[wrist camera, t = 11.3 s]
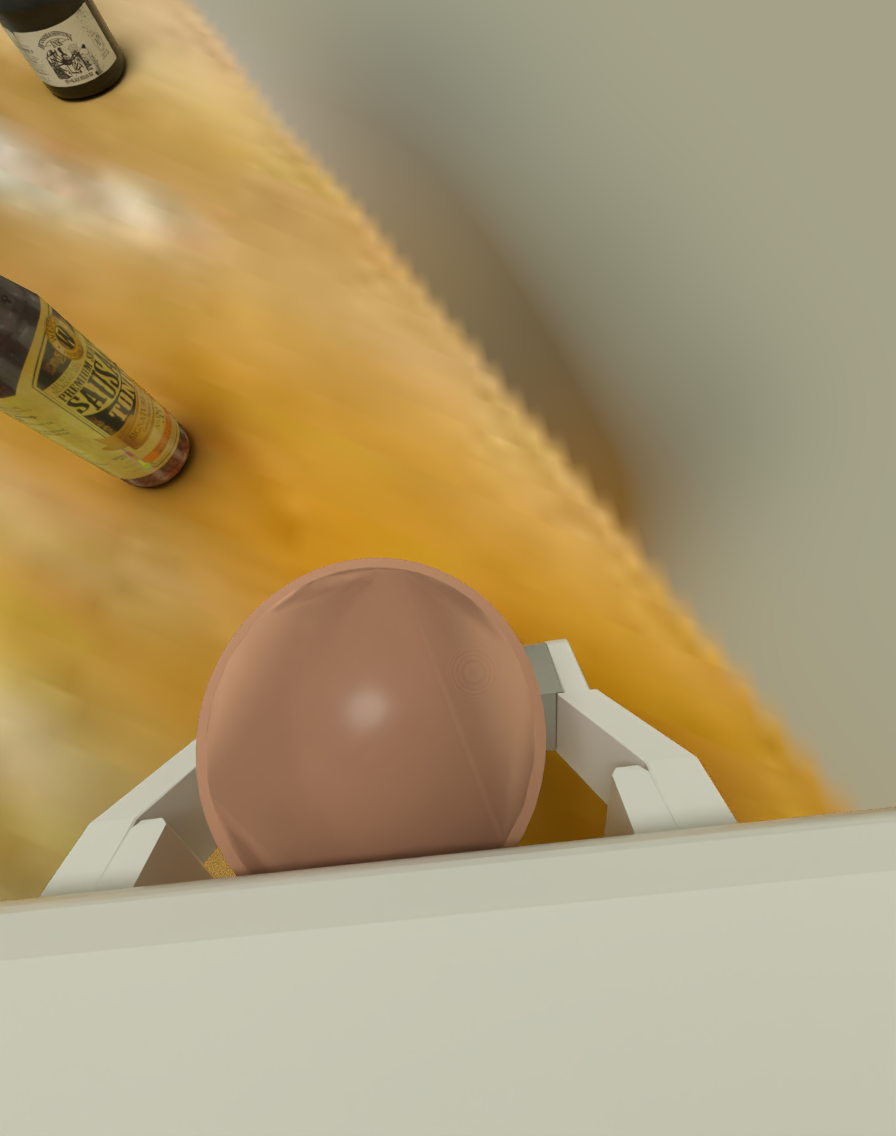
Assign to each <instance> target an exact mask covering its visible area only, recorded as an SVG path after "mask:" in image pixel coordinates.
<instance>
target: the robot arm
mask: <svg viewBox="0 0 896 1136" xmlns="http://www.w3.org/2000/svg"><path fill="white" fill-rule="evenodd" d="M522 646H523V648H524V650H525V652H526V654H527V656H528V658H529V660H530V662H531V665H532V668H533V671H534V673H535V676H536V679H537V682H538V685H539V689H540V694H541V698H542V702H543V707H544V716H545V726H546V751H551V750H556V752H557V753H558V754H559V755H560V756H561V757H562V758H563V759H564V760H565V761H566V762H567V764H568V765H569V766H570V767H571V768H572V769H573V770H574V771H575V772H576V773H577V774H578V775H579V776H580V777H581V778H582V779H583V780H584V781H585V782H586V783H587V785H588V786H589V787H590V788H591V789H592V790H593V791H594V792H595V793H596V794H597V795H598V796H599V797H600V798H601V799H602V800H603V801H604V802H605V803H606V804H607V806H608V809H607V816H606V823H605V830H604V838H594V839H585V840H576V841H566V842H557V843H547V844H538V845H528V846H519V847H509V848H500V849H490V850H481V851H472V852H462V853H453V854H443V855H434V856H424V857H415V858H405V859H396V860H387V861H377V862H368V863H359V864H349V865H340V866H331V867H321V868H312V869H303V870H293V871H284V872H275V873H265V874H256V875H246V876H237V877H227V878H218V879H216V878H215V876H214V875H213V874H212V873H211V872H210V871H209V870H208V869H207V867H206V866H205V865H204V863H205V861H206V860H207V859H208V858H209V856H210V855H211V854H212V853H213V852H214V850H215V849H216V848H217V847H218V846H217V845H216V843H215V840H214V838H213V836H212V833H211V831H210V828H209V826H208V824H207V821H206V818H205V814H204V811H203V807H202V803H201V800H200V796H199V789H198V782H197V775H196V739H195V740H194V741H192V742H191V743H190V744H189V745H187V746H186V747H185V748H184V749H182V750H181V751H180V752H179V753H177V754H176V755H175V756H174V757H172V758H171V759H170V760H169V761H167V762H166V763H165V764H164V765H162V766H161V767H160V768H159V769H157V770H156V771H155V772H154V773H152V774H151V775H150V776H149V777H147V778H146V779H145V780H144V781H142V782H141V783H140V784H139V785H137V786H136V787H135V788H134V789H132V790H131V791H130V792H129V793H127V794H126V795H125V796H124V797H122V798H121V799H120V800H119V801H117V802H116V803H115V804H114V805H112V806H111V807H110V808H109V809H107V810H106V811H105V812H104V813H102V814H101V815H100V816H99V817H97V818H96V819H95V820H94V821H92V822H91V823H90V824H89V825H88V827H87V828H86V830H85V831H84V833H83V834H82V836H81V837H80V838H79V840H78V841H77V843H76V844H75V846H74V847H73V849H72V850H71V851H70V853H69V854H68V856H67V857H66V859H65V860H64V862H63V863H62V865H61V866H60V867H59V869H58V870H57V872H56V873H55V875H54V876H53V878H52V879H51V881H50V882H49V883H48V885H47V886H46V888H45V889H44V891H43V892H42V894H41V895H40V897H38V898H28V899H18V900H9V901H0V1136H896V807H888V808H878V809H869V810H859V811H849V812H840V813H831V814H821V815H812V816H802V817H793V818H783V819H774V820H764V821H755V822H746V823H737V821H736V819H735V818H734V816H733V815H732V813H731V811H730V810H729V808H728V807H727V805H726V803H725V802H724V800H723V798H722V797H721V795H720V794H719V792H718V790H717V789H716V787H715V786H714V784H713V782H712V781H711V779H710V778H709V776H708V774H707V773H706V771H705V769H704V768H703V766H702V765H701V763H700V761H699V760H698V758H697V757H696V756H694V755H693V754H691V753H690V752H688V751H687V750H685V749H684V748H683V747H681V746H680V745H678V744H677V743H675V742H674V741H672V740H671V739H669V738H668V737H666V736H665V735H663V734H662V733H660V732H659V731H657V730H656V729H655V728H653V727H652V726H650V725H649V724H647V723H646V722H644V721H643V720H641V719H640V718H638V717H637V716H635V715H634V714H632V713H631V712H629V711H628V710H627V709H625V708H624V707H622V706H621V705H619V704H618V703H616V702H615V701H613V700H612V699H610V698H609V697H607V696H606V695H604V694H603V693H601V692H600V691H599V690H597V689H592V690H590V689H589V687H588V685H587V682H586V680H585V678H584V676H583V673H582V671H581V669H580V667H579V664H578V662H577V660H576V658H575V655H574V653H573V651H572V649H571V647H570V644H569V642H568V641H567V640H566V639H559V640H551V641H545V642H538V643H531V644H523V645H522Z"/></svg>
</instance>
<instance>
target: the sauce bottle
mask: <svg viewBox="0 0 896 1136" xmlns="http://www.w3.org/2000/svg"><path fill="white" fill-rule="evenodd" d="M0 411H2V412H4V413H5V414H7V415H9V416H11V417H12V418H14V419H16V420H18V421H19V422H21V423H23V424H24V425H26V426H28V427H30V428H31V429H33V430H35V431H36V432H38V433H40V434H42V435H43V436H45V437H47V438H48V439H50V440H52V441H54V442H55V443H57V444H59V445H60V446H62V447H64V448H66V449H67V450H69V451H71V452H72V453H74V454H76V455H77V456H79V457H81V458H82V459H84V460H86V461H88V462H89V463H91V464H93V465H95V466H96V467H98V468H100V469H101V470H103V471H105V472H107V473H109V474H110V475H112V476H115V477H118V478H120V479H122V480H123V481H125V482H127V483H129V484H132V485H136V486H140V487H150V486H157V485H159V484H163V483H166V482H168V481H169V480H171V478H174V476H175V475H176V474H177V473H178V472H179V471H180V470H181V468H182V467H183V466H184V464H185V462H186V461H187V458H188V455H189V450H190V444H189V440H188V437H187V435H186V433H185V431H184V430H183V428H182V426H181V425H180V424H179V422H177V421H176V419H175V418H174V416H173V415H172V414H171V413H169V412H168V411H167V410H166V409H165V408H164V407H163V406H162V405H161V404H159V403H158V402H157V401H156V400H155V399H154V398H153V397H152V396H151V395H149V394H148V393H147V392H146V391H145V390H144V389H143V388H142V387H140V386H139V385H138V384H137V383H136V382H135V381H134V380H133V379H131V378H130V377H129V376H128V375H127V374H126V373H125V372H123V371H122V370H121V369H120V368H119V367H118V366H117V365H116V364H115V363H114V362H112V361H111V360H110V359H109V358H108V357H107V356H106V355H105V354H104V353H102V352H101V351H100V350H99V349H98V348H97V347H96V346H95V345H94V344H93V343H91V342H90V341H89V340H88V339H87V338H86V337H85V336H83V335H82V334H81V333H80V332H79V331H78V330H76V329H75V328H74V327H73V326H72V325H71V324H70V323H69V322H67V321H66V320H65V319H64V318H63V317H62V316H61V315H60V314H59V313H57V312H56V311H55V310H54V309H53V308H52V307H51V306H50V305H49V304H47V303H46V302H45V301H44V300H43V299H42V298H41V297H40V296H38V295H37V294H35V293H33V292H31V291H30V290H28V289H26V288H24V287H22V286H20V285H18V284H16V283H14V282H12V281H10V280H9V279H7V278H5V277H3V276H1V275H0Z"/></svg>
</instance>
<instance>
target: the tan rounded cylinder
mask: <svg viewBox="0 0 896 1136" xmlns="http://www.w3.org/2000/svg"><path fill="white" fill-rule="evenodd" d="M545 759H546V726H545V716H544V707H543V702H542V698H541V694H540V689H539V685H538V682H537V679H536V676H535V673H534V671H533V668H532V665H531V662H530V660H529V658H528V656H527V654H526V652H525V650H524V648H523V646H522V644H521V643H520V641H519V639H518V638H517V636H516V635H515V633H514V632H513V630H512V629H511V627H510V626H509V624H508V623H507V622H506V620H505V619H504V618H503V617H502V616H501V615H500V614H499V613H498V611H497V610H496V609H495V608H494V607H493V606H492V605H491V604H490V603H489V602H488V601H487V600H485V599H484V598H483V597H482V596H481V595H480V594H479V593H477V592H476V591H475V590H474V589H472V588H471V587H469V586H467V585H466V584H464V583H463V582H461V581H460V580H458V579H457V578H455V577H453V576H451V575H449V574H446V573H444V572H442V571H440V570H438V569H435V568H432V567H429V566H426V565H423V564H420V563H416V562H411V561H406V560H401V559H391V558H365V559H354V560H349V561H344V562H339V563H335V564H332V565H329V566H326V567H323V568H319V569H317V570H314V571H312V572H310V573H308V574H306V575H304V576H301V577H299V578H297V579H296V580H294V581H292V582H291V583H289V584H288V585H286V586H284V587H283V588H281V589H280V590H278V591H277V592H276V593H274V594H273V595H272V596H271V597H269V598H268V599H267V600H266V601H264V602H263V603H262V604H261V605H260V606H259V607H258V608H257V609H256V610H255V611H254V612H253V613H252V614H251V615H250V616H249V617H248V618H247V619H246V620H245V622H244V623H243V624H242V625H241V627H240V628H239V629H238V631H237V632H236V633H235V634H234V636H233V637H232V639H231V640H230V642H229V643H228V645H227V647H226V648H225V650H224V652H223V653H222V655H221V656H220V659H219V661H218V663H217V665H216V667H215V669H214V671H213V673H212V676H211V678H210V681H209V684H208V687H207V690H206V692H205V695H204V698H203V702H202V707H201V711H200V716H199V721H198V728H197V738H196V775H197V782H198V789H199V796H200V800H201V803H202V807H203V811H204V814H205V818H206V821H207V824H208V826H209V828H210V831H211V833H212V836H213V838H214V840H215V843H216V845H217V846H218V848H219V850H220V851H221V853H222V855H223V857H224V858H225V860H226V862H227V863H228V865H229V866H230V868H231V869H232V870H233V871H234V873H235V874H236V875H237V876H246V875H256V874H265V873H275V872H284V871H293V870H303V869H312V868H321V867H331V866H340V865H349V864H359V863H368V862H377V861H387V860H396V859H405V858H415V857H424V856H434V855H443V854H453V853H462V852H472V851H481V850H490V849H500V848H509V847H517V845H518V844H519V842H520V840H521V838H522V837H523V835H524V833H525V831H526V828H527V826H528V824H529V821H530V819H531V817H532V814H533V812H534V809H535V806H536V803H537V799H538V795H539V792H540V788H541V785H542V779H543V772H544V765H545Z"/></svg>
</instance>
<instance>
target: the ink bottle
mask: <svg viewBox="0 0 896 1136" xmlns="http://www.w3.org/2000/svg"><path fill="white" fill-rule="evenodd" d="M0 23H1V26H2V27H3V29H4V30H5V31H6V33H7V34H8V36H9V37H10V38H11V40H12V41H13V42H14V44H15V45H16V47H17V48H18V49H19V51H20V52H21V53H22V55H23V56H24V58H25V59H26V60H27V62H28V63H29V64H30V66H31V67H32V68H33V70H34V71H35V73H36V74H37V75H38V77H39V78H40V79H41V80H42V81H43V82H44V84H45V85H46V86H47V88H48V89H49V90H50V91H51V92H52V93H54V94H55V95H57V96H59V97H62V98H67V99H77V98H83V97H88V96H91V95H94V94H97V93H99V92H102V91H104V90H106V89H107V88H109V87H110V86H112V85H113V84H114V83H115V82H116V81H117V80H118V79H119V77H120V75H121V73H122V71H123V67H124V57H123V54H122V52H121V49H120V48H119V46H118V44H117V42H116V41H115V39H114V37H113V35H112V33H111V32H110V30H109V28H108V26H107V25H106V23H105V21H104V19H103V18H102V16H101V14H100V12H99V10H98V9H97V7H96V5H95V3H94V2H93V0H0Z"/></svg>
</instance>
